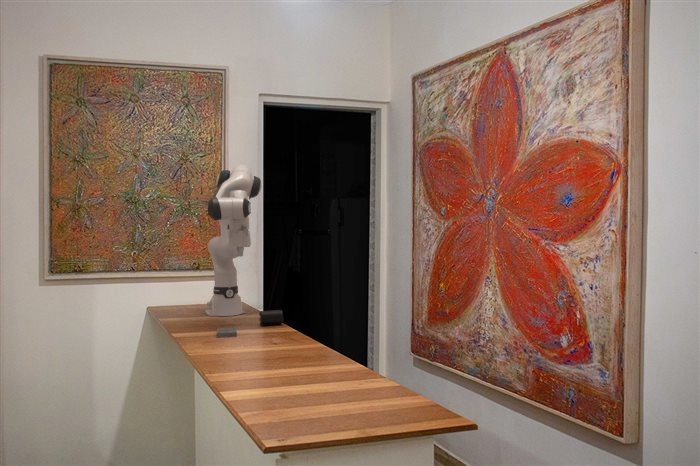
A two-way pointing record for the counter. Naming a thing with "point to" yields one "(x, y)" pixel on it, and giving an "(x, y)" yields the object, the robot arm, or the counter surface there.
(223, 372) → the counter surface
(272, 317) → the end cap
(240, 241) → the robot arm
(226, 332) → the slate tile
